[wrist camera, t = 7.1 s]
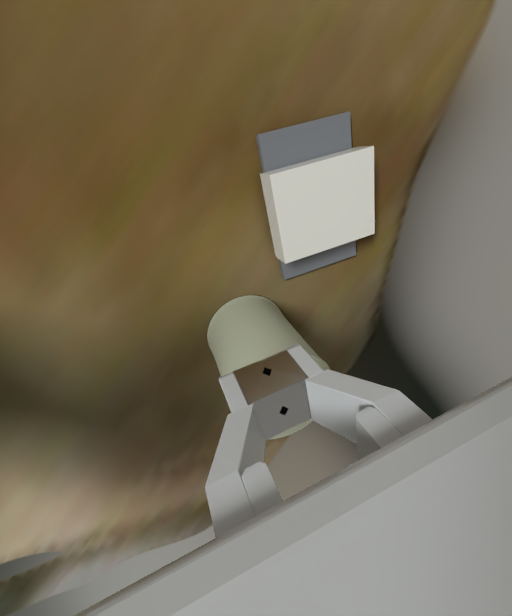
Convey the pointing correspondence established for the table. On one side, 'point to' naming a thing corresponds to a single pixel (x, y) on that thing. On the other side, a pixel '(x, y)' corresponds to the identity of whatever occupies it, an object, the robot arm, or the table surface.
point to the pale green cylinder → (253, 337)
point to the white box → (320, 203)
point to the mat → (298, 148)
